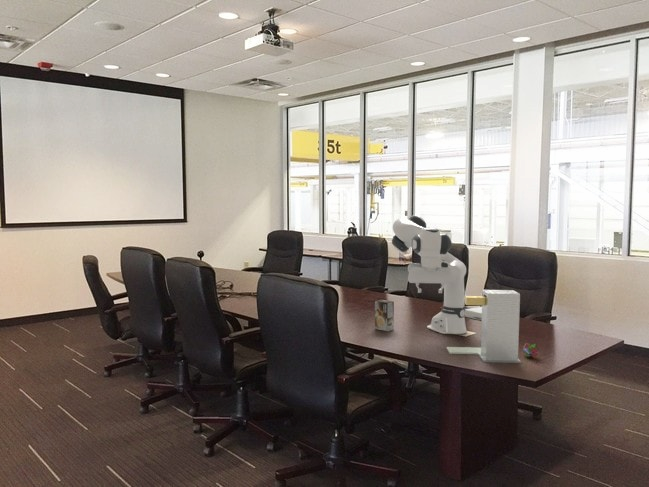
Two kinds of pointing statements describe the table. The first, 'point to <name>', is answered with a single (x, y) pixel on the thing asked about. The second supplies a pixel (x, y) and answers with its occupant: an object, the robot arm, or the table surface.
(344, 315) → the table surface
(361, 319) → the table surface
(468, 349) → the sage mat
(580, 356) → the table surface
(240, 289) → the table surface
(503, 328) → the rack post
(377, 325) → the coffee box
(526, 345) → the geometric puzzle
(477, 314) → the disc drive
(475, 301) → the brass bar
